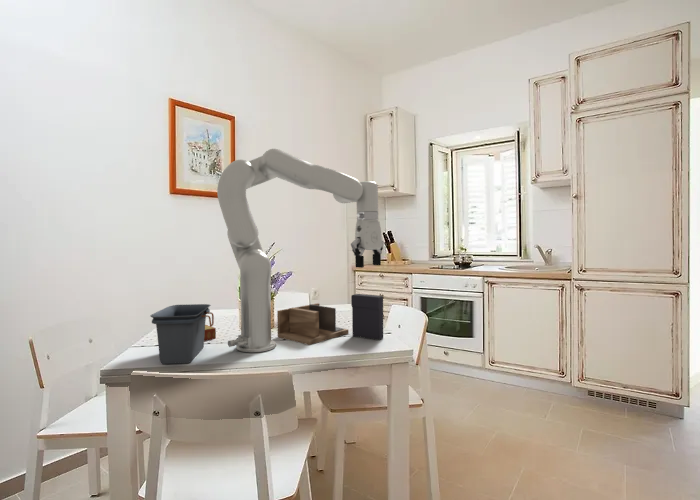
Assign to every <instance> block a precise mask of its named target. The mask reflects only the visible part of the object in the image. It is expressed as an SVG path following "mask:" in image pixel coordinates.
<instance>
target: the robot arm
mask: <svg viewBox="0 0 700 500" xmlns="http://www.w3.org/2000/svg"><path fill="white" fill-rule="evenodd" d="M276 178H277V179H280V180H283V181H286V182H289V183H290V184H294V185H296V186H298V187H300V188H303V189H306V190H307V189H308V190H317V191H318V190H319V191H323V192H326V193H329V194H332V197H333V198H334V200H335V201H337V202H338V203H340V204H351V203H356V223H355V229H354V230H355V233H354V234H355V235H354V240H353V241H352V242H351V243H350V246H351V249H352V253H353V256H354V257H355V268H365V264H364V263H365V259H364V257H365V256H364V255H363V254H364V252H365V251H372V253H373V254H372V266H381V263H382V262H381V261H382V258H381V254H382V251H383V249H384V244H385V241H384V240H383V237H382V228H381V223H380V221H379V186H378V183H377V182H376V181H371V180H368V181H367V180H366V181H359V180H358V179H357V178H355V177H352V176H351V175H348V174H345V173H344V172H340V171H339V170H335V169H332V168H328V167H324V166H321V165H319V164H315V163H312V162H309V161H307V160H304V159H302V158H299V157H298V156H295V155H293V154H291V153H289V152H286V151H284V150H281V149H277V148H270V149H268V150H266V151H265V152H264V153H263V154H262V155H261V156H259V157H257V158H253V159H251V160H249V161H247V160H245V159H236V160H234V161H232V162H230V163H229V164H228V165H227V166H226V167H225V169H224V170H223V171H222V173H221V174H220V177H219V179H218V181H217V182H218V183H217V187H216V188H217V189H216V191H217V192H216V193H217V194H216V195H217V200H218V204H219V208H220V210H221V213H222V217H223V219H224V222H225V225H226V228H227V238H228V241H229V244H230V247H231V250H232V252H233V255H234V258H235V260H236V263H237V265H238V268H239V273H240V274H239V280H240V285H239V287H240V290H239V295H240V297H239V298H240V299H239V300H240V334H238V336H237V337H236V338H235V339H230V340H228V341H227V345H228V346H227V347H228V348H232V347H236V350H237V351H238V352H243V353H261V352H268V351H270V350H273V349H275V348H276V347H277V342H276V341H275V340H273V339H272V309H271V308H272V304H271V303H272V299H271V298H272V297H271V296H272V295H271V284H272V283H271V282H272V280H271V278H272V264H271V259H270V258H269V256H268V255H267V254H266V253H265V252H264V250H263V247H262V245H261V244H262V243H261V241H260V239H259V229H258V226H257V224H256V222H255V220H254V217H253V214H252V211H251V209H250V205H249V203H248V202H249V201H248V199H247V189H250V188H253V187H255V186H258V185H261V184H264V183H266V182H269V181H271V180H273V179H276Z"/></svg>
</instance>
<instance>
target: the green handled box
mask: <svg viewBox="0 0 700 500" xmlns="http://www.w3.org/2000/svg"><path fill="white" fill-rule="evenodd" d="M216 330H217V329H216V327H214V326H210V325H207V324H205V334H204V342H205V341H211V340H216V338H217V337H216V336H217V333H216V332H217V331H216Z"/></svg>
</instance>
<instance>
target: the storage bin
mask: <svg viewBox="0 0 700 500" xmlns="http://www.w3.org/2000/svg"><path fill="white" fill-rule="evenodd" d="M211 306H212V305H211V304H207V303H206V304H205V303H204V304H202V303H201V304H200V303H199V304H196V303H195V304H194V303H193V304H192V303H191V304H173V305H169V306H166V307H165V308H162V309H160V310H158V311H156V312H154V313H152V314H150V316H149V317H151V318H152V319H151V324H153V325H155V326H156V334H157V335H156V336H157V344H158V353H159V354H158V355H159V362H160V363H161V364H163V365H164V364H165V365H167V364H170V365H171V364H188V363H191V362H192V361H194V359H195V358H196V357H197V355H198V354H199V353H200V352H201V351H202V350H203V349H204V346H205V341H204V334H205V325H206V320H207V318H208V320H209V321H208V322H209V326H211V327H214V322H215V321H214V319H215V317H214V313H213V312H210V311H211V310H210V307H211ZM210 315H211V316H210Z"/></svg>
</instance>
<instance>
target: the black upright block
mask: <svg viewBox="0 0 700 500" xmlns="http://www.w3.org/2000/svg"><path fill="white" fill-rule="evenodd" d="M350 302H351V303H350V304H351V308H352V309H351V311H352V312H351V315H352V316H351V317H352V320H351V321H352V322H351V323H352V325H351V326H352V328H351V329H352V333H351V334H352V337H355V338H361V339H367V340H374V341H380V340H383V338H384V296H383V295H375V294H364V293H356V294H351V301H350Z"/></svg>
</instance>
